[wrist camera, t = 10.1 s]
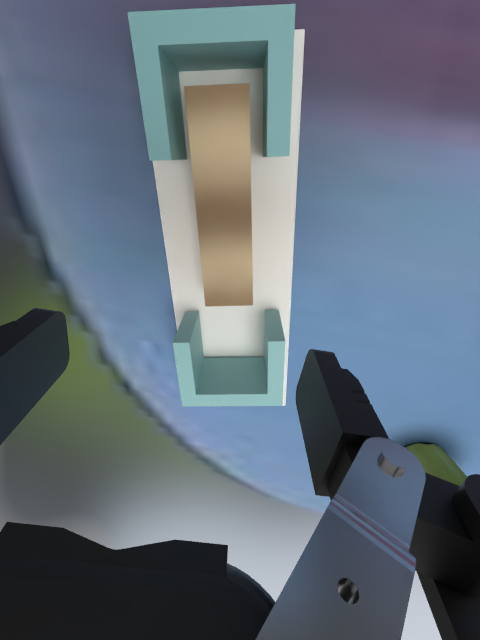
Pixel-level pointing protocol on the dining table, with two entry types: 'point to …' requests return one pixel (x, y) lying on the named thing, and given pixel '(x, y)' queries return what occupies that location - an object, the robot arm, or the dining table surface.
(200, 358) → the cap
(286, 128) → the cap
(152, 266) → the dining table surface
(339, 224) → the dining table surface
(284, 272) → the board
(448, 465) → the plant pot
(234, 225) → the slat
